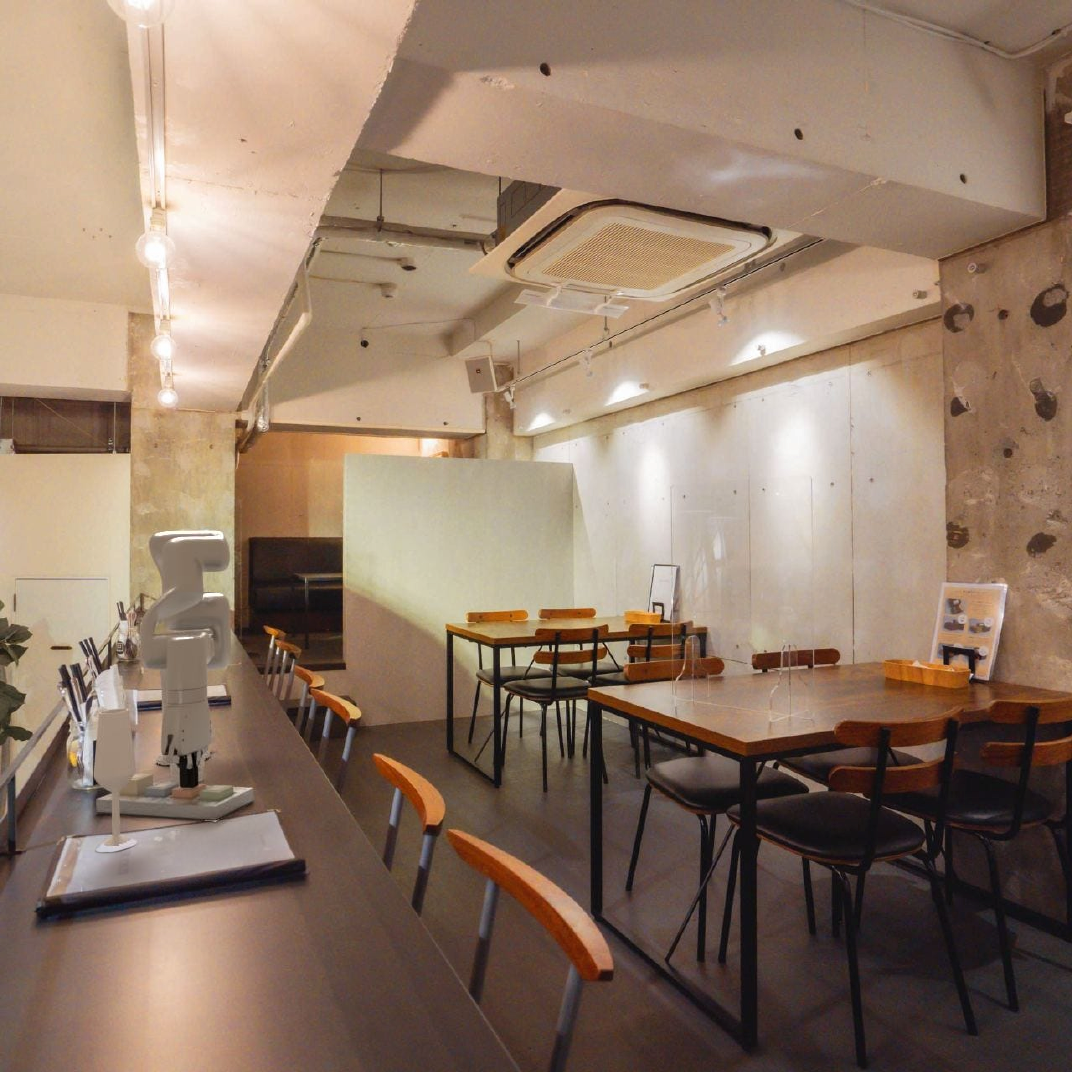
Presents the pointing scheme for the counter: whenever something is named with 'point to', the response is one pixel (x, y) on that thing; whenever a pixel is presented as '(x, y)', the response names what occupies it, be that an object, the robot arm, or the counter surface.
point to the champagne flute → (114, 762)
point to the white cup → (176, 771)
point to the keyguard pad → (177, 806)
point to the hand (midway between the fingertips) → (189, 786)
